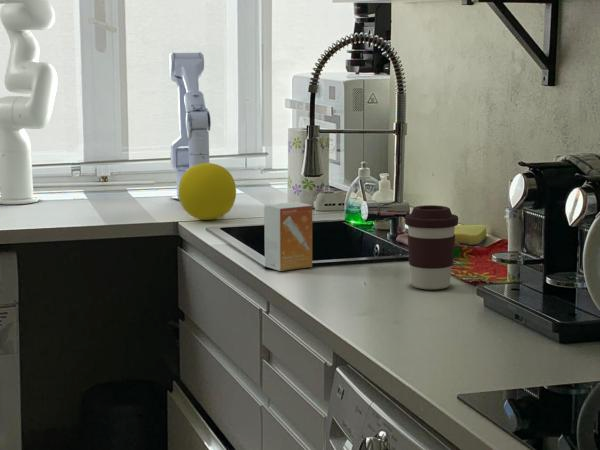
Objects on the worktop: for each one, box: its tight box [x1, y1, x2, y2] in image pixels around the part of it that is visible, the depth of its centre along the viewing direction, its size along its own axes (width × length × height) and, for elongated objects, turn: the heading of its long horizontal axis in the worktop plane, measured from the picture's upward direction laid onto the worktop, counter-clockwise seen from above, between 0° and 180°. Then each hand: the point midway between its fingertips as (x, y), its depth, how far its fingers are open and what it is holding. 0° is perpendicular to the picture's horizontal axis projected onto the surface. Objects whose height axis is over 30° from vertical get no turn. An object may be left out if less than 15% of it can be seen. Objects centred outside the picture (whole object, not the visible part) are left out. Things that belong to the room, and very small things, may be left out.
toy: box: [179, 162, 237, 221], centre depth 277 cm, size 15×15×15 cm
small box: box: [263, 201, 313, 272], centre depth 215 cm, size 8×6×13 cm
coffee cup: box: [404, 204, 459, 291], centre depth 197 cm, size 10×10×15 cm
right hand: (200, 201), depth 296 cm, fingers open, 6 cm apart
